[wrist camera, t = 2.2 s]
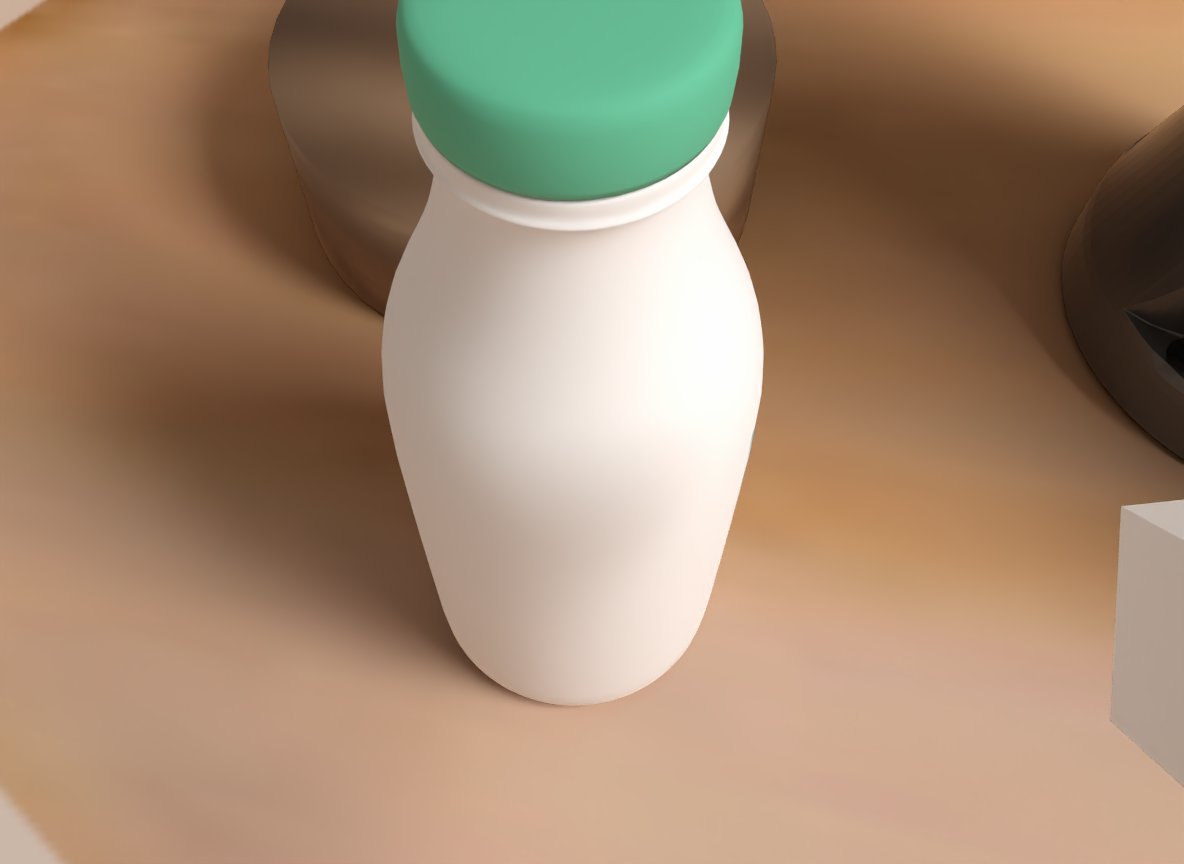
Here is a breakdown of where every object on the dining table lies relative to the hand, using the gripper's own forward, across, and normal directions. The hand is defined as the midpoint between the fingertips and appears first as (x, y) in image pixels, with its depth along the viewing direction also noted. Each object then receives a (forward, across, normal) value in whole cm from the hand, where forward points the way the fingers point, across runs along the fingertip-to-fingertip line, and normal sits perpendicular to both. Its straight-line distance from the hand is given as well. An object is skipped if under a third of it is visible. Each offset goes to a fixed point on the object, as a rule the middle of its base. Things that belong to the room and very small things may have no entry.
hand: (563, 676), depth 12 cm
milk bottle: (+18, +1, -6) cm, 19 cm away
